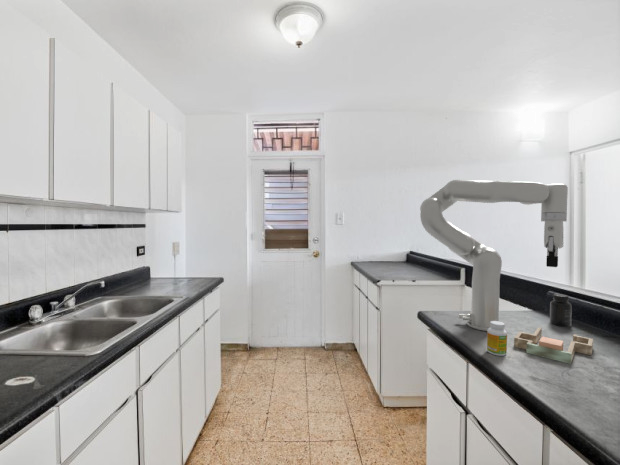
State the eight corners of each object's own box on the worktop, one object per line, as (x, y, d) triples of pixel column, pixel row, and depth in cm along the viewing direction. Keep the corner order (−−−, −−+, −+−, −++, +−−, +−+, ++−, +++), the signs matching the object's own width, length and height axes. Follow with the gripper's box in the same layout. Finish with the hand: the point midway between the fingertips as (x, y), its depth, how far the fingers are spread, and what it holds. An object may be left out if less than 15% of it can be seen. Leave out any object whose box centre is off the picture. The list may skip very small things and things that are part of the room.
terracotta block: (538, 355, 98) (539, 341, 98) (541, 349, 102) (541, 336, 102) (560, 360, 94) (561, 346, 94) (562, 355, 98) (563, 341, 98)
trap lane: (511, 349, 102) (512, 340, 102) (525, 332, 117) (525, 324, 117) (589, 368, 89) (589, 358, 89) (592, 346, 104) (593, 338, 104)
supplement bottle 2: (567, 323, 128) (569, 294, 128) (573, 328, 122) (574, 298, 121) (547, 320, 131) (548, 292, 130) (552, 325, 125) (553, 296, 124)
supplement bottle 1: (499, 357, 96) (500, 326, 96) (483, 351, 101) (484, 321, 100) (510, 354, 99) (511, 324, 98) (493, 347, 103) (494, 319, 103)
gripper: (564, 217, 108) (562, 270, 108) (568, 217, 118) (567, 265, 119) (537, 217, 113) (536, 267, 114) (544, 217, 123) (542, 263, 124)
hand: (552, 266), depth 116 cm, fingers closed
